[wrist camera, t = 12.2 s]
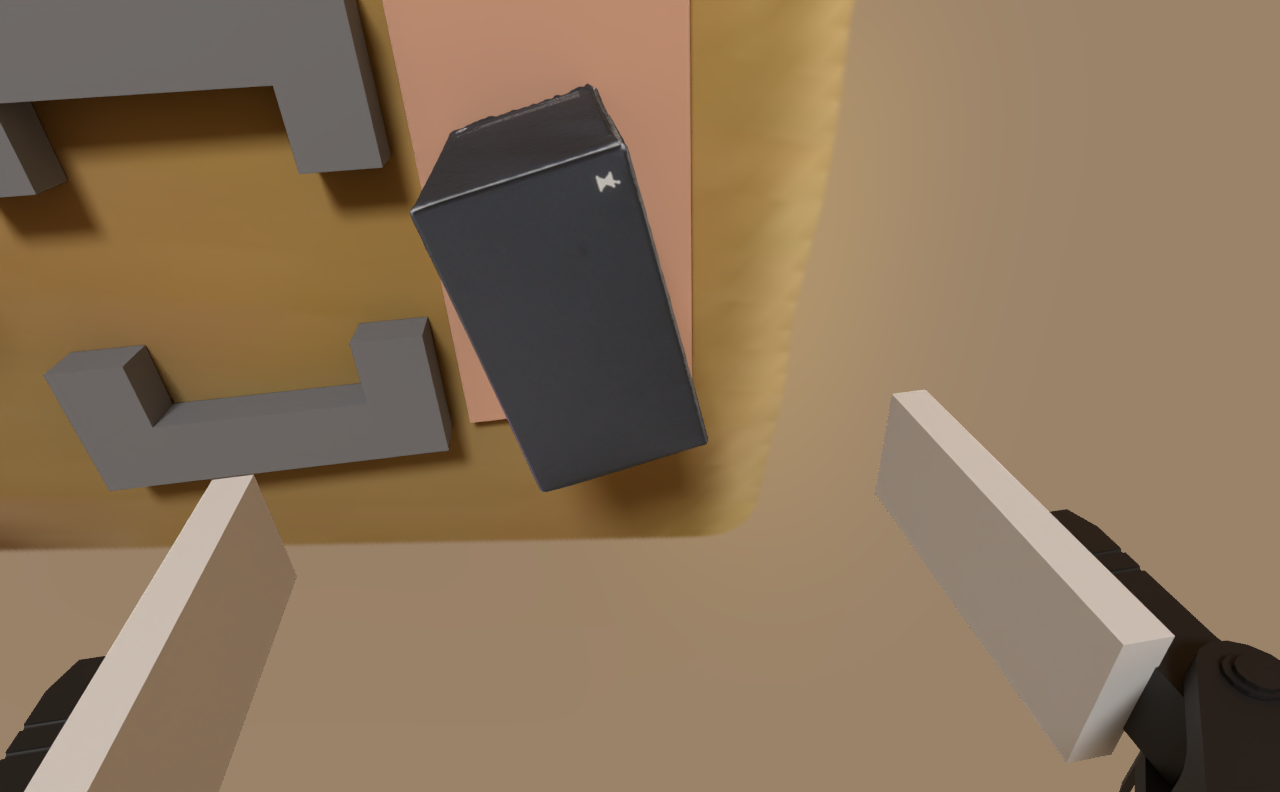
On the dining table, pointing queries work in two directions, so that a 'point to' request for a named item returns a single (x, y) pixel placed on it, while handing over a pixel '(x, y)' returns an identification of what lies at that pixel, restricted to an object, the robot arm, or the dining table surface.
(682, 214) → the terracotta tile
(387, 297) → the dining table surface
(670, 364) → the small box
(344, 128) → the pocket insert
